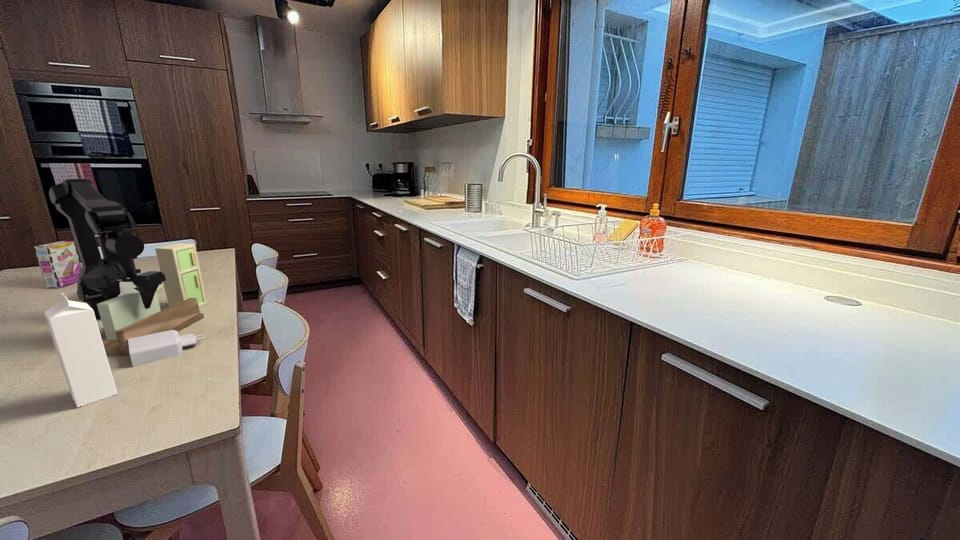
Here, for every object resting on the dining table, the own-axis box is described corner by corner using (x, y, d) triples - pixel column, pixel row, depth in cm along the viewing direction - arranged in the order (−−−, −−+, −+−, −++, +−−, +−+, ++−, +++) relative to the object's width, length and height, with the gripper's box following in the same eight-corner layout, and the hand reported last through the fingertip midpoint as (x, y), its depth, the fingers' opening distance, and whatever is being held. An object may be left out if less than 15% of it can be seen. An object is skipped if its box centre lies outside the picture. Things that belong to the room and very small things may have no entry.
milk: (110, 385, 83) (83, 288, 78) (118, 394, 80) (90, 294, 74) (70, 398, 79) (38, 296, 73) (76, 408, 75) (43, 302, 69)
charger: (209, 350, 101) (133, 369, 91) (203, 338, 107) (131, 354, 97) (206, 334, 99) (128, 351, 89) (200, 322, 106) (127, 337, 96)
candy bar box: (60, 288, 147) (47, 246, 142) (45, 289, 146) (32, 246, 142) (86, 279, 157) (74, 240, 153) (72, 280, 157) (60, 240, 152)
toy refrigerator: (188, 313, 123) (173, 248, 117) (169, 311, 124) (154, 247, 119) (209, 304, 130) (197, 243, 125) (191, 302, 132) (178, 242, 126)
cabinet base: (72, 353, 97) (64, 329, 95) (154, 316, 120) (149, 297, 118) (133, 355, 96) (126, 331, 94) (204, 317, 119) (199, 298, 117)
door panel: (107, 339, 101) (96, 304, 98) (153, 318, 114) (145, 287, 112) (117, 340, 101) (108, 304, 98) (162, 319, 114) (155, 287, 112)
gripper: (49, 260, 94) (68, 319, 99) (122, 261, 94) (137, 320, 98) (95, 250, 105) (110, 303, 109) (161, 250, 104) (173, 304, 108)
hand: (131, 308), depth 106 cm, fingers open, 9 cm apart
